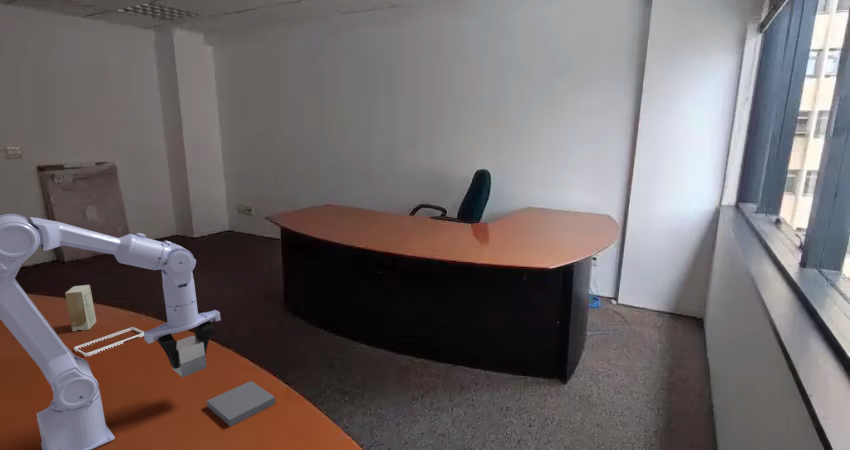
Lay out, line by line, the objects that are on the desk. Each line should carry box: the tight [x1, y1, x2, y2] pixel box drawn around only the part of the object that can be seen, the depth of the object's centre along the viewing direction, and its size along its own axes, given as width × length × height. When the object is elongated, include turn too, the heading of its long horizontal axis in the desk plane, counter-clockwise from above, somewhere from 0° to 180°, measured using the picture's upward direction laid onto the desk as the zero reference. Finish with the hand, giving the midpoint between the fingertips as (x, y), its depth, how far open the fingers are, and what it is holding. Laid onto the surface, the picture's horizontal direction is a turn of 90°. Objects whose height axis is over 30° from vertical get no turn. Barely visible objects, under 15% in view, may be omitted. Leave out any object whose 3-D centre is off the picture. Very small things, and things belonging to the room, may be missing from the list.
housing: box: [171, 334, 207, 378], centre depth 96 cm, size 5×5×6 cm
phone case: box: [73, 326, 145, 358], centre depth 125 cm, size 7×1×15 cm
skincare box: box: [64, 284, 97, 332], centre depth 134 cm, size 6×4×12 cm
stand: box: [206, 380, 277, 427], centre depth 96 cm, size 10×10×2 cm
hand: (188, 361), depth 96 cm, fingers closed on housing, 5 cm apart
